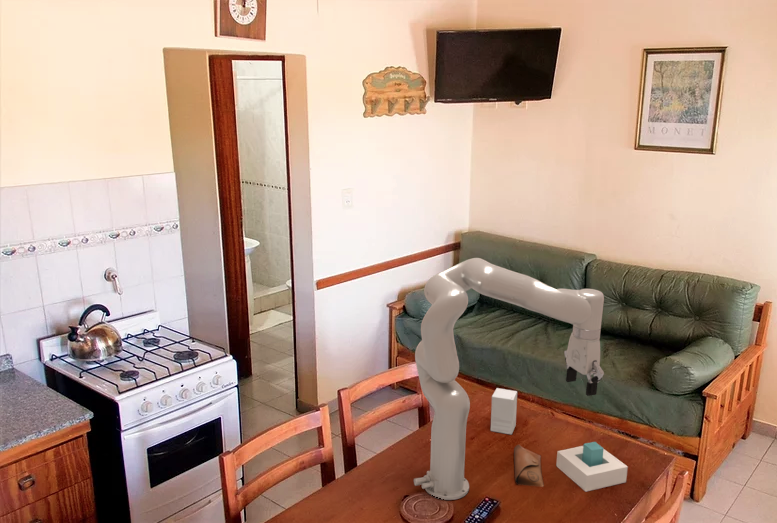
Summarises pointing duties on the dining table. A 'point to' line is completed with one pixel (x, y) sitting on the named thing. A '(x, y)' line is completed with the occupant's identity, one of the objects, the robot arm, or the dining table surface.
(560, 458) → the well block
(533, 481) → the sunglasses case
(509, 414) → the supplement box
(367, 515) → the dining table surface
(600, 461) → the teal post
